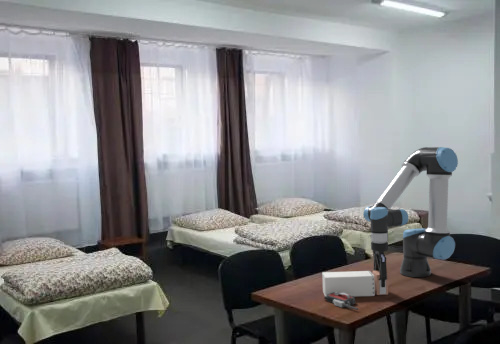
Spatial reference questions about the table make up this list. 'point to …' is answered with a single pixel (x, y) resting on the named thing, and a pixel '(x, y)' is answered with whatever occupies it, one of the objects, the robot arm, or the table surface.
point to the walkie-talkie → (341, 300)
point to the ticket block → (349, 283)
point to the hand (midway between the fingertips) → (380, 290)
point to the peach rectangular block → (376, 281)
